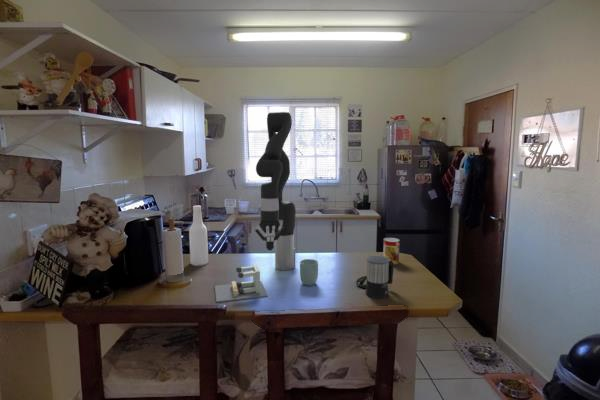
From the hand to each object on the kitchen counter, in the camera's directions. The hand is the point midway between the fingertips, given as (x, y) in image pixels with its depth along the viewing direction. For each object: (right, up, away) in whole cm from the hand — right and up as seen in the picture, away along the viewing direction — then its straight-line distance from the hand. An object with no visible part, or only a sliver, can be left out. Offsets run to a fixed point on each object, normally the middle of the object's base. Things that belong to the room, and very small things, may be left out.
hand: (269, 249), depth 145 cm
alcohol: (-39, -12, +34) cm, 54 cm away
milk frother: (+42, -17, 0) cm, 46 cm away
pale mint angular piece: (-9, -12, -1) cm, 15 cm away
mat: (-12, -17, -1) cm, 21 cm away
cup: (+17, -16, +7) cm, 24 cm away
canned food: (+60, -12, +37) cm, 72 cm away
